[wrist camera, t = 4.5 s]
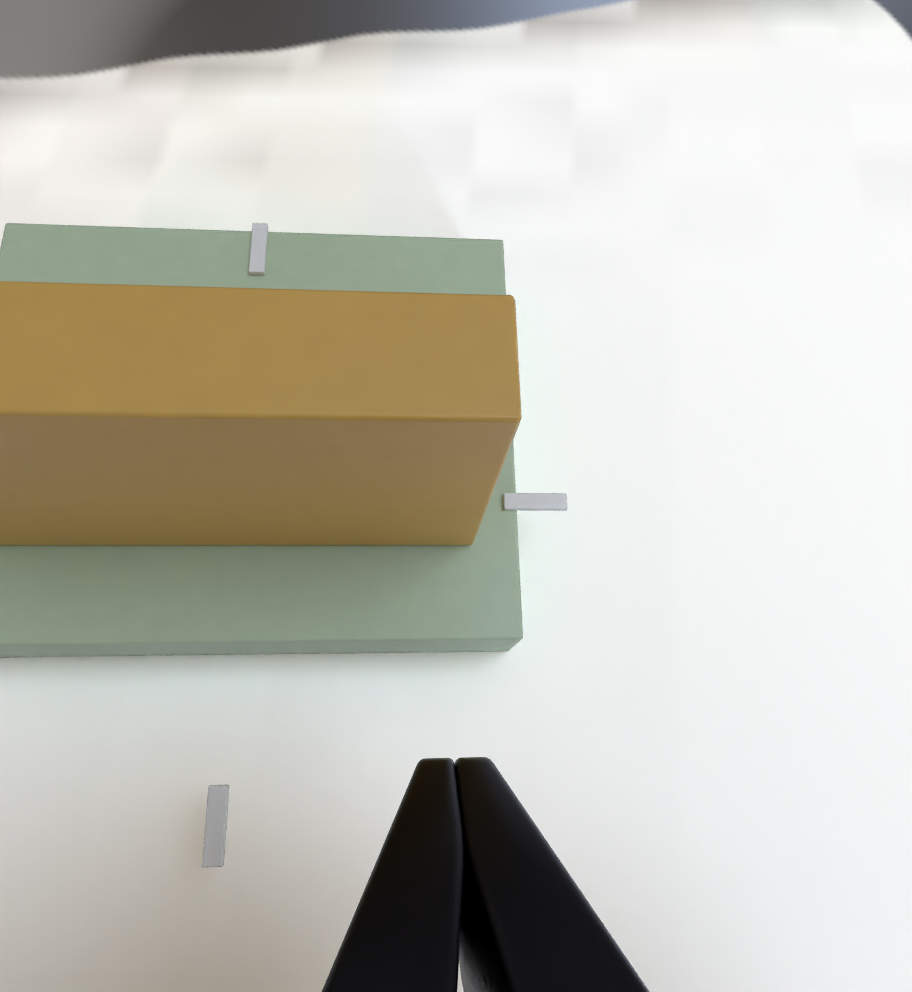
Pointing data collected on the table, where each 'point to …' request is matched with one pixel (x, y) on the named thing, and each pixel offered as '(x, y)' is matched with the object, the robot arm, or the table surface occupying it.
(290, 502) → the brass bar
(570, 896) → the robot arm
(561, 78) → the table surface
